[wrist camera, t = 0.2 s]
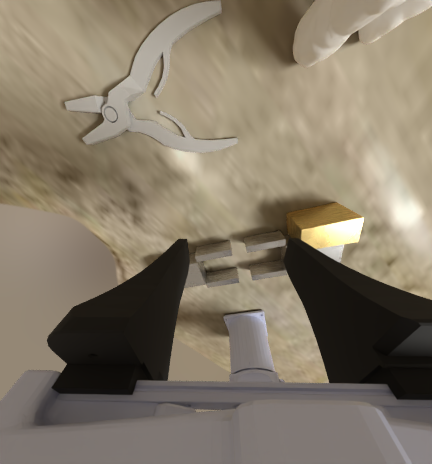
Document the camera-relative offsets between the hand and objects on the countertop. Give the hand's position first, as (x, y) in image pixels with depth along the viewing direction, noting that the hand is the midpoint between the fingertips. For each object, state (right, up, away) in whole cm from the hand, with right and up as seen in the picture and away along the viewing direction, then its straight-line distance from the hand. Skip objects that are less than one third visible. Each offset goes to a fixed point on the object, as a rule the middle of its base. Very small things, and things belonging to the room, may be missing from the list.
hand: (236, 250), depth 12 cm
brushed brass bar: (+11, +3, +10) cm, 15 cm away
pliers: (-8, +14, +4) cm, 16 cm away
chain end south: (+9, -1, +12) cm, 15 cm away
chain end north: (-5, -4, +14) cm, 15 cm away
